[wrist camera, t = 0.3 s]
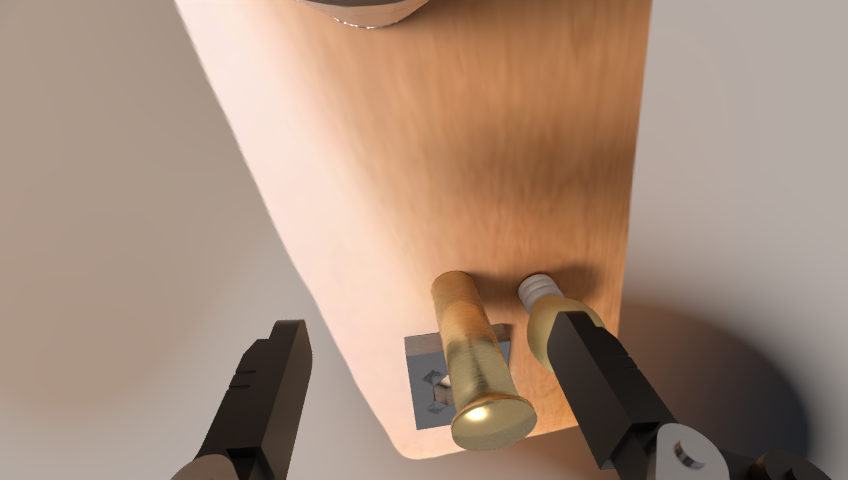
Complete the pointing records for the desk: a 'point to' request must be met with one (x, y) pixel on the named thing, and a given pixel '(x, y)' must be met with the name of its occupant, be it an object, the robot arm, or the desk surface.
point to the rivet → (477, 370)
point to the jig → (436, 377)
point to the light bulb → (546, 312)
